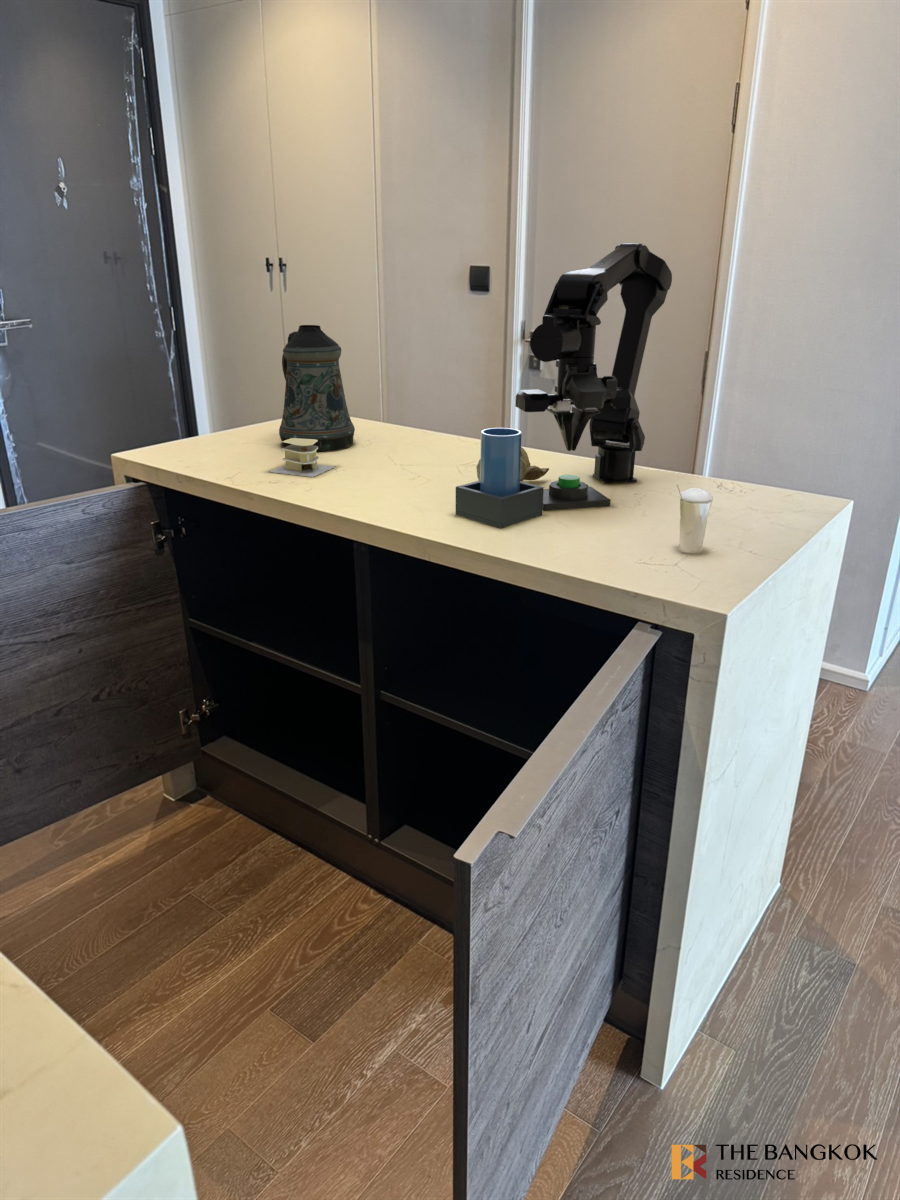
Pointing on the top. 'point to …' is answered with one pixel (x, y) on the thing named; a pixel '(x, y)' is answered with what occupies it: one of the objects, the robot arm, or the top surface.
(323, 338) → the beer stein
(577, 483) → the button
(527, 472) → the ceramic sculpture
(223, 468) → the top surface
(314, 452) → the stacked layers on plate
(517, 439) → the cup
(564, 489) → the panel
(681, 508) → the milkshake
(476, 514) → the open square box
